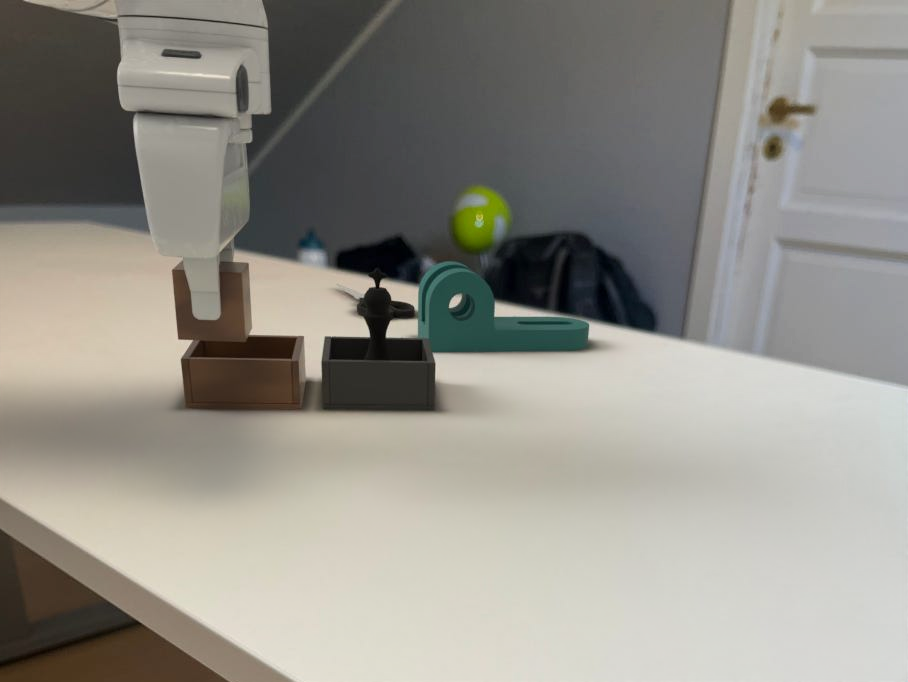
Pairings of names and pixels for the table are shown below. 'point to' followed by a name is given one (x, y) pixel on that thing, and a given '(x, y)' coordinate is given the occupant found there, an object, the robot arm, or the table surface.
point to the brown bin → (245, 373)
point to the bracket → (485, 318)
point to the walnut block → (234, 301)
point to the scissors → (393, 308)
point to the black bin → (378, 375)
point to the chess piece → (377, 317)
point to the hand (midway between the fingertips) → (214, 309)
